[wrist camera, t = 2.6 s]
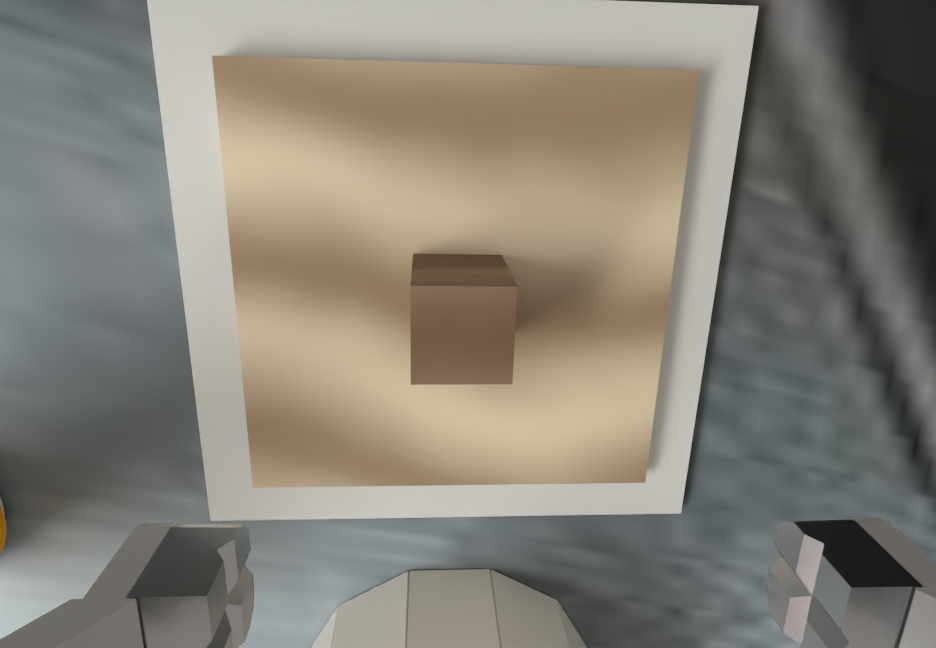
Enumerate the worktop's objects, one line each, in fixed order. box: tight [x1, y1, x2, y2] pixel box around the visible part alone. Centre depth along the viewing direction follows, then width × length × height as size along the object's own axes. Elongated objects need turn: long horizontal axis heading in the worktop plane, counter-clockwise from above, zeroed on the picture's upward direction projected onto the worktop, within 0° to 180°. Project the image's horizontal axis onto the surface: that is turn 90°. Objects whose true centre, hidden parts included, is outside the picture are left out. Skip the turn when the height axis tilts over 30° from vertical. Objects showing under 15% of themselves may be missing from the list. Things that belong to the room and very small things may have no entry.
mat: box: [147, 0, 759, 521], centre depth 23 cm, size 19×19×1 cm
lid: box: [212, 56, 699, 488], centre depth 21 cm, size 15×15×5 cm
